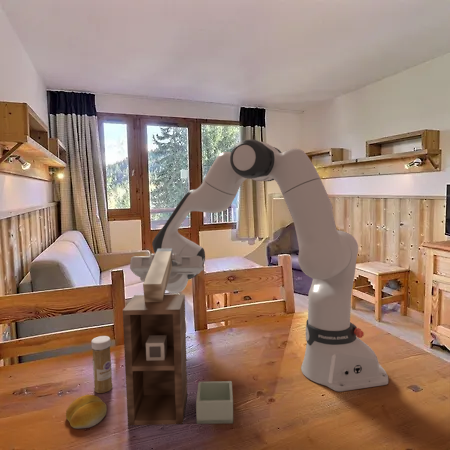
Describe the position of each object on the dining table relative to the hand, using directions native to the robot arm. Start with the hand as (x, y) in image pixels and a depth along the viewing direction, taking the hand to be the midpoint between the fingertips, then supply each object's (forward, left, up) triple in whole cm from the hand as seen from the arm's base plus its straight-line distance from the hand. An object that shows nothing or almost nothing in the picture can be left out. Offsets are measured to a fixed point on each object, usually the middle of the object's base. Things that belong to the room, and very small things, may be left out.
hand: (163, 256), depth 92 cm
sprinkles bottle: (+15, +7, -33) cm, 37 cm away
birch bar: (0, +6, -5) cm, 8 cm away
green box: (-14, +17, -33) cm, 39 cm away
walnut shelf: (-1, +16, -33) cm, 37 cm away
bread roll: (+16, +17, -34) cm, 41 cm away
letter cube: (-1, +16, -20) cm, 25 cm away
